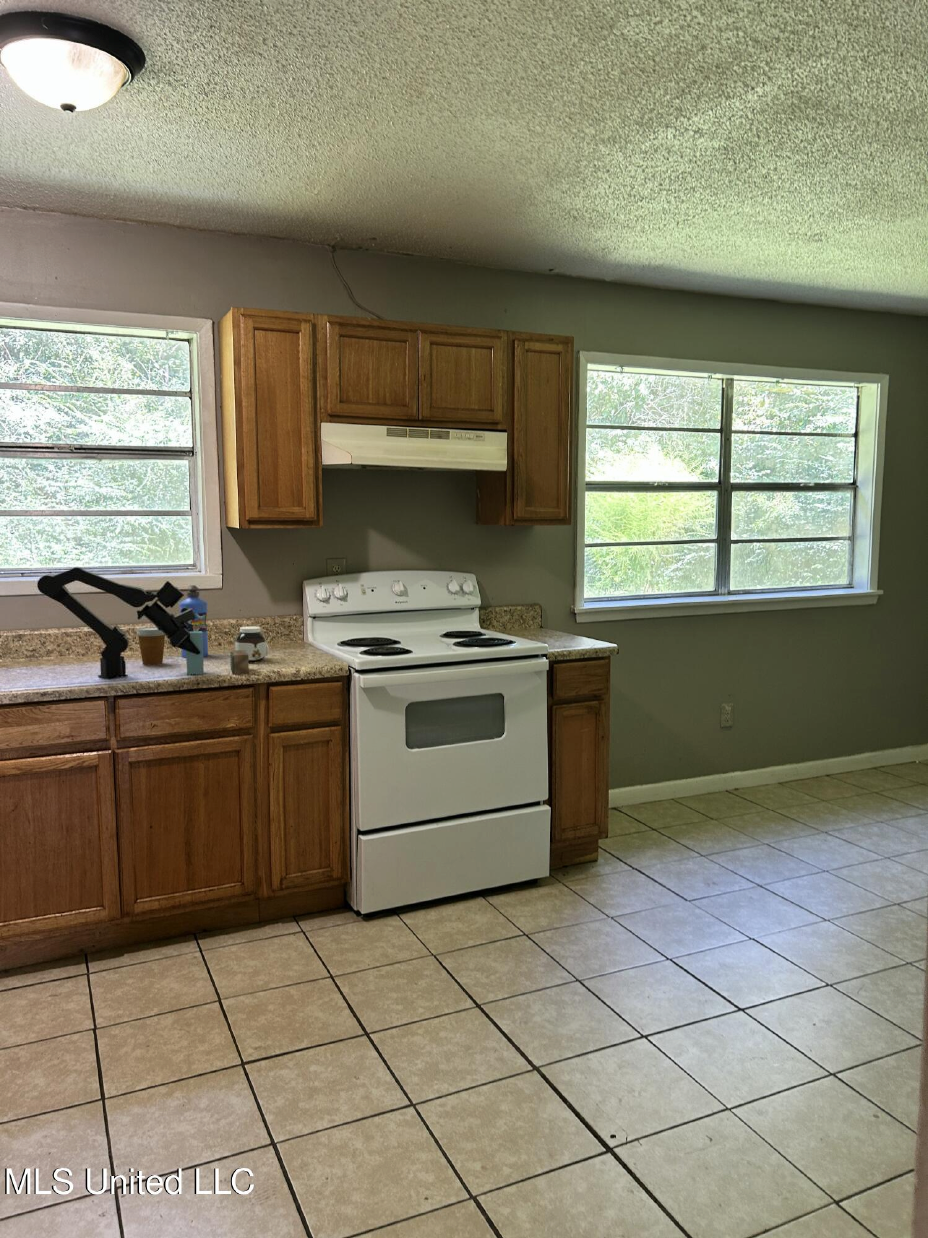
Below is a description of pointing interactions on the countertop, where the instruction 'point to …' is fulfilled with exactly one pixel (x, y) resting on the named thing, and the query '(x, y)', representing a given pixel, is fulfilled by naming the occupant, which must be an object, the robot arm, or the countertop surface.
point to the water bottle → (200, 612)
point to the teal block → (195, 655)
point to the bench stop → (239, 662)
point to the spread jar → (252, 643)
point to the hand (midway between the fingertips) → (199, 652)
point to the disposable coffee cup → (151, 645)
